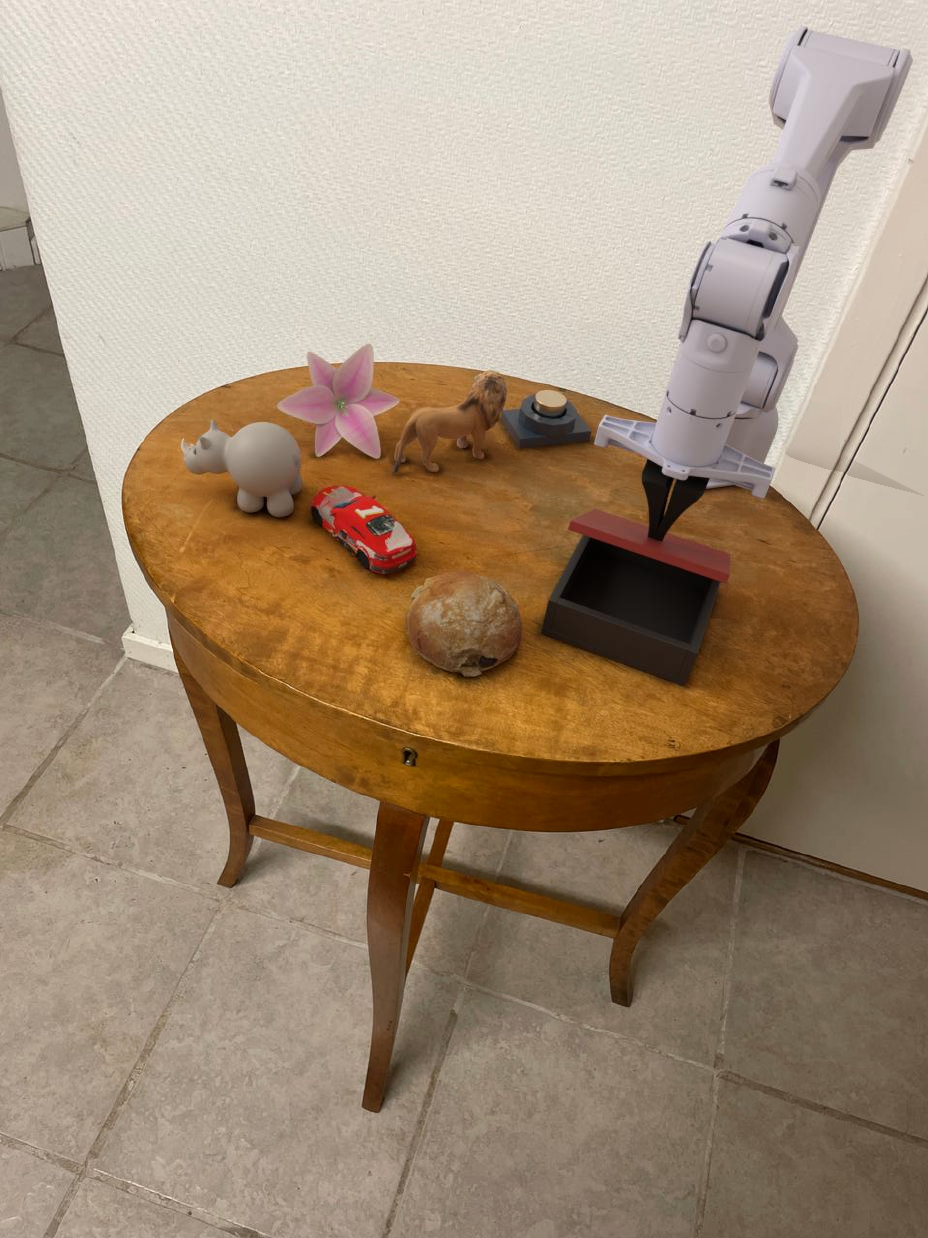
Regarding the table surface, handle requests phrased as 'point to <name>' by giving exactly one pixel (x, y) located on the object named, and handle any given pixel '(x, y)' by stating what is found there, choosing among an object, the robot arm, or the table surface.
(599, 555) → the black open box
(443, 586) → the bread roll
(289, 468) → the round bodied animal figurine
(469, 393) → the lion figurine
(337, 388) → the lily
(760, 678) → the table surface
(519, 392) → the table surface
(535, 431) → the control block
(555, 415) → the button
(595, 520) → the lid
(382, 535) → the race car
